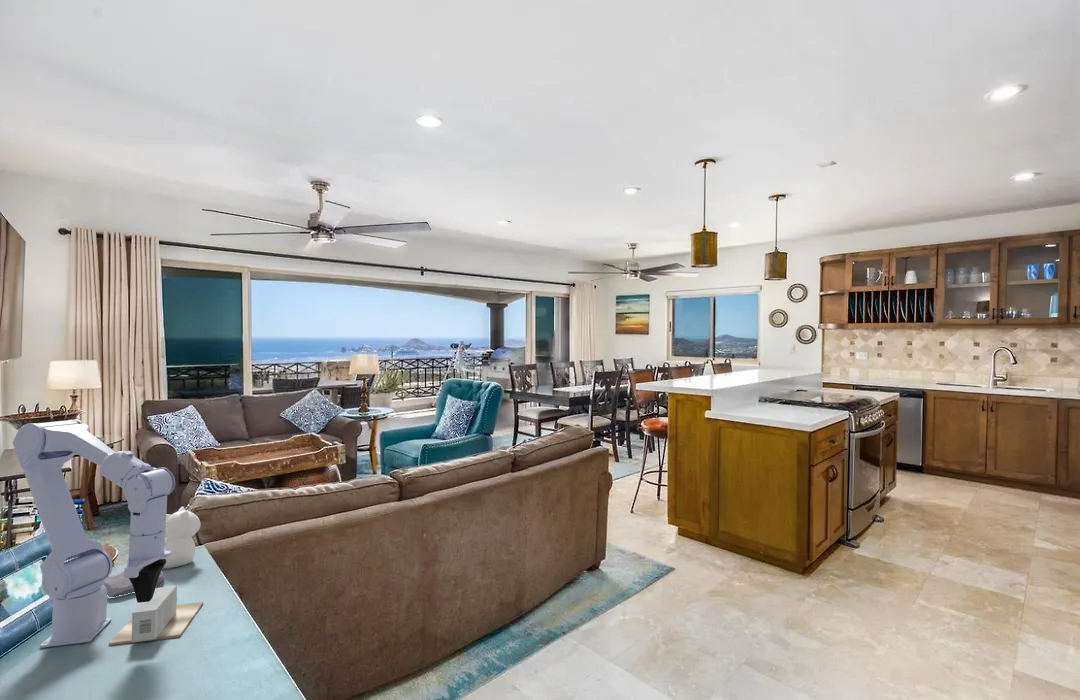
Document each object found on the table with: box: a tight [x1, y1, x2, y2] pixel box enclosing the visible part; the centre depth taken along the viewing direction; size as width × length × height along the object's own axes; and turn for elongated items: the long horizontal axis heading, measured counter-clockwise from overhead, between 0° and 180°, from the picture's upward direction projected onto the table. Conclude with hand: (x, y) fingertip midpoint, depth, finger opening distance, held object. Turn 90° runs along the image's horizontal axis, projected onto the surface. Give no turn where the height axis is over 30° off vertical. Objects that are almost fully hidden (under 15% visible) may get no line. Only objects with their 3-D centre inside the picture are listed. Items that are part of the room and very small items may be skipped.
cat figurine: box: [161, 506, 201, 569], centre depth 142 cm, size 9×12×15 cm
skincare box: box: [131, 585, 178, 643], centre depth 108 cm, size 6×4×12 cm
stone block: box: [104, 570, 165, 597], centre depth 127 cm, size 12×5×10 cm
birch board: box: [108, 601, 204, 646], centre depth 111 cm, size 15×12×1 cm
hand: (144, 600), depth 103 cm, fingers closed
